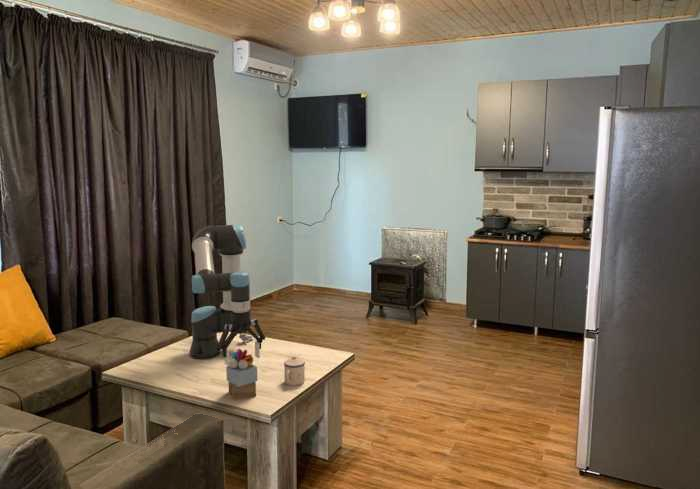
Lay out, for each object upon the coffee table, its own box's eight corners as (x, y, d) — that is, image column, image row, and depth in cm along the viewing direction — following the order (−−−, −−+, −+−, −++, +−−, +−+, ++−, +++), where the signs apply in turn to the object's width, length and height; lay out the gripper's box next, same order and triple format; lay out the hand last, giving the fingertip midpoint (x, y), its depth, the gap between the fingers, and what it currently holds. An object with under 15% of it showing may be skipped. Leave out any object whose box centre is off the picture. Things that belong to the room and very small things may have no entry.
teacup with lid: (289, 376, 241) (289, 351, 239) (308, 379, 238) (308, 353, 236) (277, 386, 229) (276, 360, 228) (296, 389, 226) (296, 363, 225)
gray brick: (226, 380, 222) (226, 366, 221) (245, 374, 228) (245, 360, 227) (238, 387, 215) (237, 372, 214) (257, 381, 221) (257, 367, 220)
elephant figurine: (258, 343, 284) (246, 341, 277) (251, 349, 286) (238, 348, 279) (252, 327, 290) (239, 325, 283) (245, 334, 291) (232, 332, 284)
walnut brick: (228, 392, 225) (228, 378, 224) (249, 388, 229) (249, 374, 228) (234, 400, 217) (233, 386, 216) (256, 396, 221) (255, 382, 220)
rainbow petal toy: (248, 371, 216) (247, 353, 215) (225, 369, 218) (225, 352, 217) (256, 363, 224) (255, 346, 223) (234, 361, 226) (233, 344, 225)
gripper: (215, 318, 207) (217, 370, 210) (272, 307, 222) (273, 356, 225) (207, 313, 213) (209, 364, 216) (264, 303, 228) (265, 351, 231)
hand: (242, 360), depth 221 cm, fingers open, 13 cm apart
